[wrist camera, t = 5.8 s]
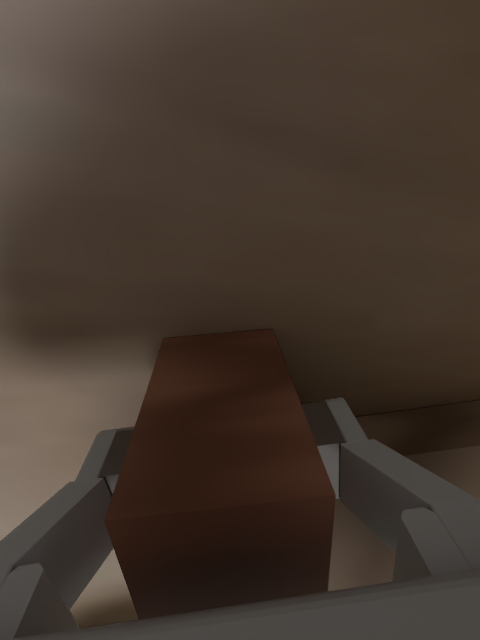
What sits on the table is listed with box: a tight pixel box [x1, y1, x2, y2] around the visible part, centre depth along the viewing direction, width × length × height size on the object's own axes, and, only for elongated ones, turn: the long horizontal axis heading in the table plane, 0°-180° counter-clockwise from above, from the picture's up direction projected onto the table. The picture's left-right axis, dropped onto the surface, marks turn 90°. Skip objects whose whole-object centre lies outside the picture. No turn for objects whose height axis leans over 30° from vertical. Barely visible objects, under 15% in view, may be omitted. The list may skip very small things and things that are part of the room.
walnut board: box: [328, 400, 480, 591], centre depth 13 cm, size 20×8×2 cm, turn 96°
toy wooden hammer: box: [104, 329, 336, 620], centre depth 10 cm, size 4×13×6 cm, turn 4°
